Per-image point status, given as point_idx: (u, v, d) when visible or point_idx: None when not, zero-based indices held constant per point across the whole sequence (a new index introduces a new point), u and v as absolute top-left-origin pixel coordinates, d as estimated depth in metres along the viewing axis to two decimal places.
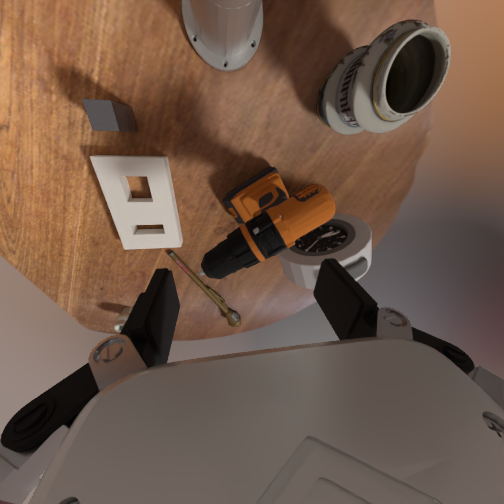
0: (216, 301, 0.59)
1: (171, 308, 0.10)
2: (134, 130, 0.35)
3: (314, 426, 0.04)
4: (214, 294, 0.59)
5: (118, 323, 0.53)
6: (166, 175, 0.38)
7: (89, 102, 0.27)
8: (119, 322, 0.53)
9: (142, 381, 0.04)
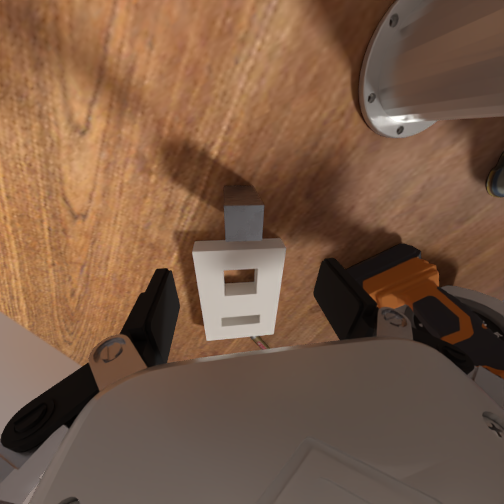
0: None
1: (171, 308, 0.10)
2: None
3: (314, 426, 0.04)
4: None
5: None
6: (282, 266, 0.28)
7: (233, 209, 0.18)
8: None
9: (142, 381, 0.04)
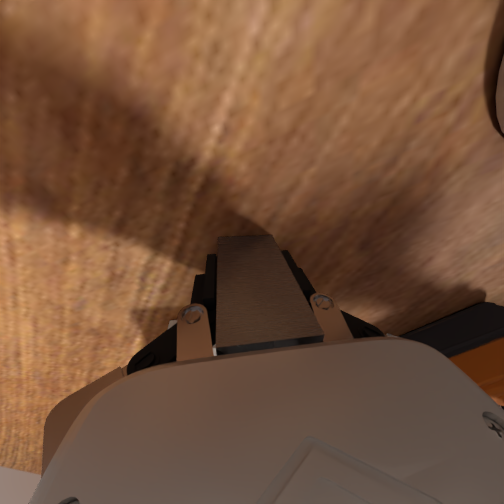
0: None
1: None
2: None
3: (314, 426, 0.04)
4: None
5: None
6: None
7: (241, 351, 0.06)
8: None
9: (142, 381, 0.04)
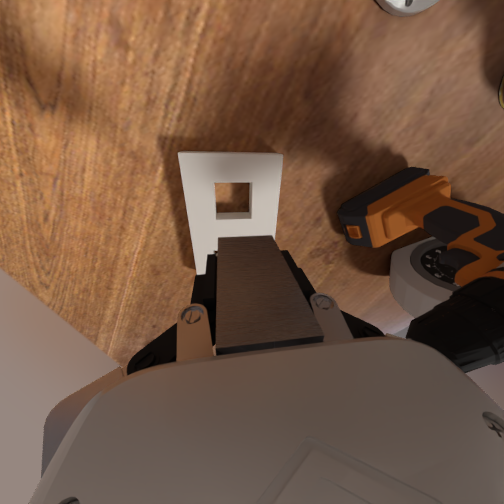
0: None
1: None
2: None
3: (314, 426, 0.04)
4: None
5: None
6: (279, 181, 0.26)
7: None
8: None
9: (142, 381, 0.04)
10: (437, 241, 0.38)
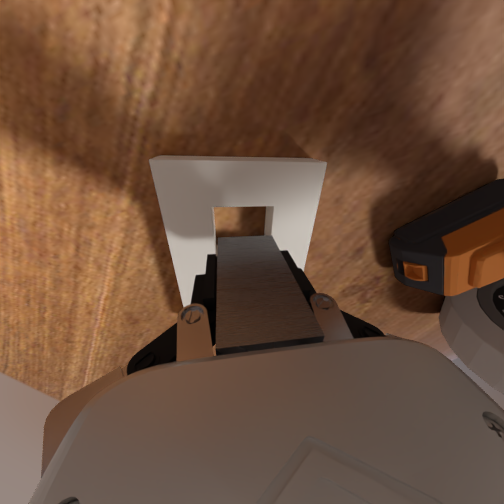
0: None
1: None
2: None
3: (314, 426, 0.04)
4: None
5: None
6: (316, 203, 0.16)
7: None
8: None
9: (142, 381, 0.04)
10: None
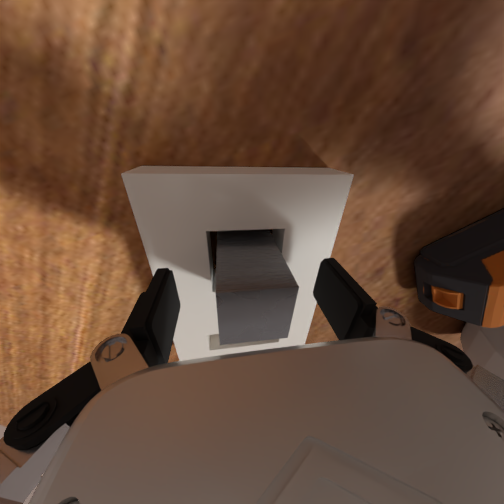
0: None
1: (172, 307, 0.10)
2: None
3: (314, 426, 0.04)
4: None
5: None
6: (336, 224, 0.13)
7: (235, 298, 0.08)
8: None
9: (142, 381, 0.04)
10: None
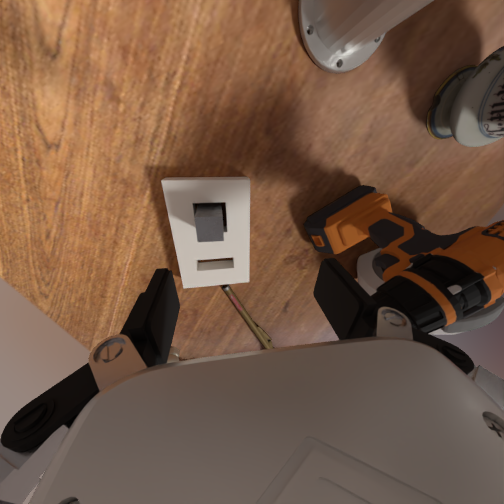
0: (263, 341, 0.51)
1: (171, 308, 0.10)
2: None
3: (314, 426, 0.04)
4: (262, 333, 0.50)
5: None
6: (248, 200, 0.31)
7: (201, 219, 0.26)
8: None
9: (142, 381, 0.04)
10: None
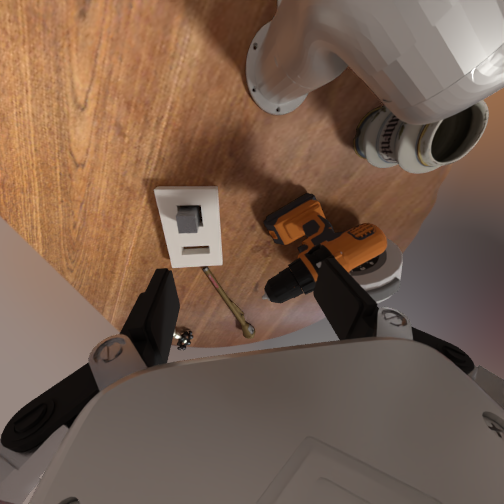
0: (236, 314, 0.63)
1: (171, 308, 0.10)
2: (199, 220, 0.45)
3: (314, 426, 0.04)
4: (236, 307, 0.62)
5: None
6: (217, 203, 0.42)
7: (180, 218, 0.38)
8: None
9: (142, 381, 0.04)
10: None
